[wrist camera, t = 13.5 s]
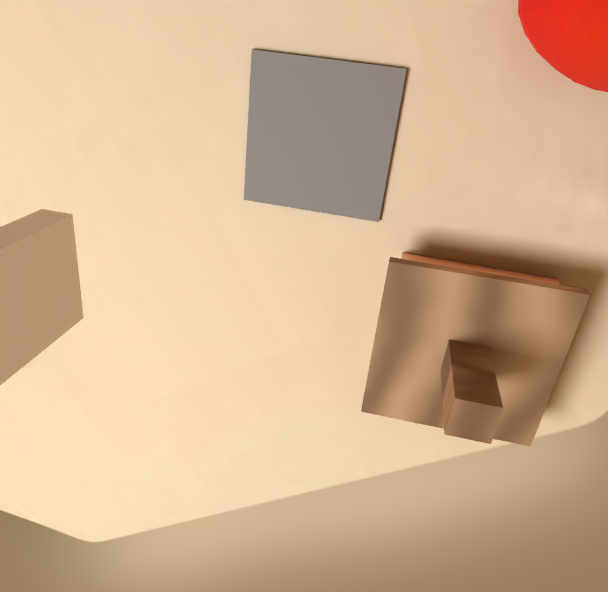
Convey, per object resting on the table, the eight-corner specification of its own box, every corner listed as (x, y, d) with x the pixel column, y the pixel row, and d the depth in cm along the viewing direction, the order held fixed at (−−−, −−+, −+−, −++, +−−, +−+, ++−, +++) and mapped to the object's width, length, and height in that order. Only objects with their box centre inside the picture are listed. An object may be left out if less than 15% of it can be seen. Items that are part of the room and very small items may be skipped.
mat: (245, 198, 45) (243, 199, 45) (253, 49, 40) (251, 49, 40) (379, 220, 44) (378, 221, 43) (406, 68, 38) (406, 68, 38)
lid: (362, 404, 48) (351, 476, 40) (389, 257, 41) (383, 307, 33) (528, 438, 46) (551, 521, 38) (586, 289, 39) (630, 351, 31)
